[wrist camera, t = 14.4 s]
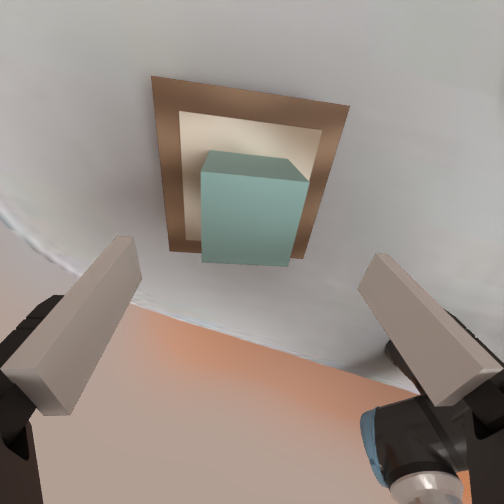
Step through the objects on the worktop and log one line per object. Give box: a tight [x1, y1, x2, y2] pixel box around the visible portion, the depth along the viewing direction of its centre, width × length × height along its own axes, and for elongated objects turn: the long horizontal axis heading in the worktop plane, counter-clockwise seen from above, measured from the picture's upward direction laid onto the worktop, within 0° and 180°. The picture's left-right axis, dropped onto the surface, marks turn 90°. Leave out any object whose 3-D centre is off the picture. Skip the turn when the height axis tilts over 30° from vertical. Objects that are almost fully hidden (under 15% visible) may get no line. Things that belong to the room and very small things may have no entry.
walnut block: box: [151, 76, 350, 259], centre depth 25 cm, size 16×16×8 cm
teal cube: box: [201, 150, 310, 267], centre depth 19 cm, size 7×7×7 cm
